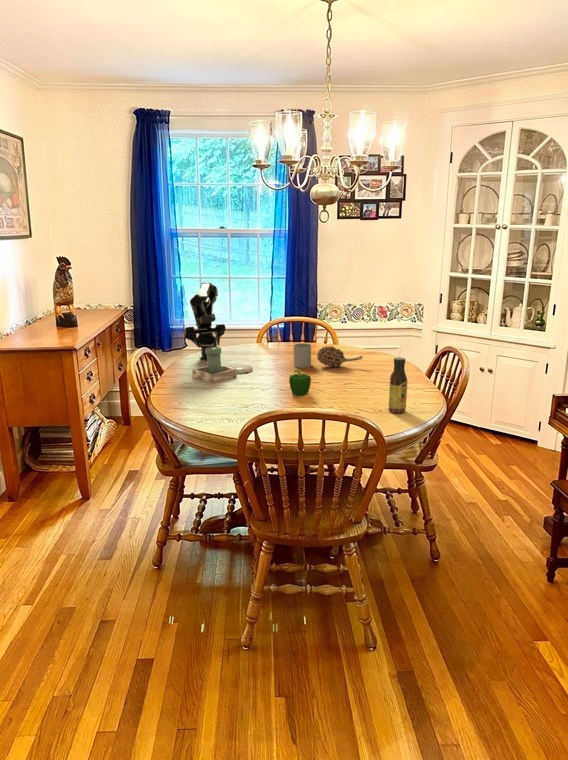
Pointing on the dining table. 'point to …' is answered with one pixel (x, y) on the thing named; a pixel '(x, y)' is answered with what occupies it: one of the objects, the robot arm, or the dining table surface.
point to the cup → (302, 355)
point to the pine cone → (333, 357)
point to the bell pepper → (299, 383)
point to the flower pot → (213, 359)
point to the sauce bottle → (398, 387)
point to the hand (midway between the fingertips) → (209, 346)
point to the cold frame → (224, 374)
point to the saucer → (242, 368)
